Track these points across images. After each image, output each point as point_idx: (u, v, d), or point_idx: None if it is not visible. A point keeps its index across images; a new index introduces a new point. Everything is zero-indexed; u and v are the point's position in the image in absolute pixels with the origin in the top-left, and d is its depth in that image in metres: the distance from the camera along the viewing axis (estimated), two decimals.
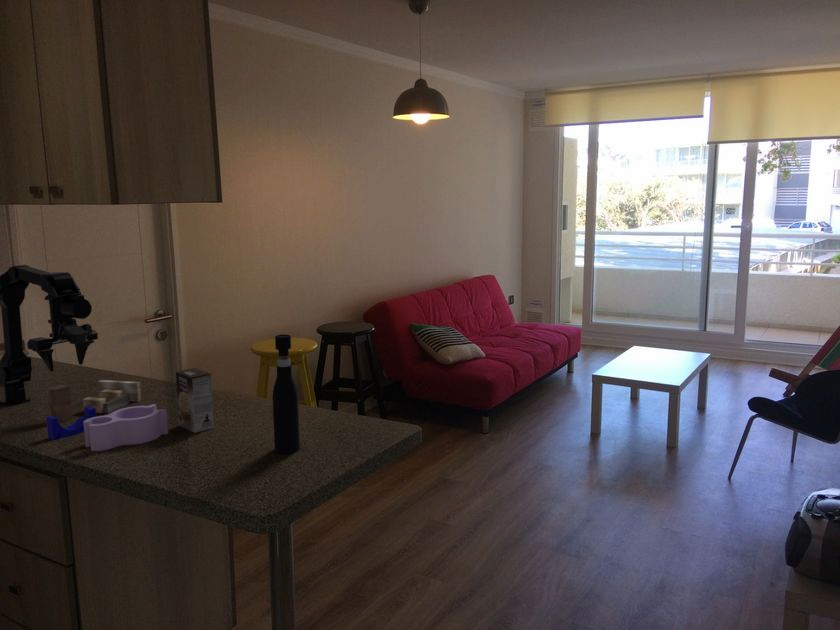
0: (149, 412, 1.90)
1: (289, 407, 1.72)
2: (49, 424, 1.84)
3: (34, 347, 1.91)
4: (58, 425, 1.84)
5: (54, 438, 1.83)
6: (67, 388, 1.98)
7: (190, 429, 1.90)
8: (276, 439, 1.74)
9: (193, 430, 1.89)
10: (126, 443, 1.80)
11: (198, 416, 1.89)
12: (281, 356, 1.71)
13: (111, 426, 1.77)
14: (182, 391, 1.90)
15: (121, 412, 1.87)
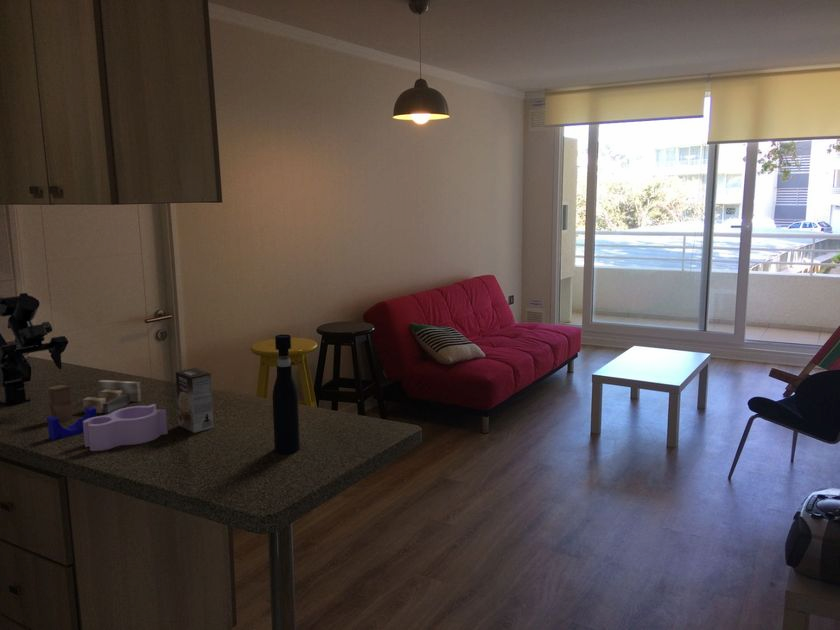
0: (148, 412, 1.89)
1: (289, 407, 1.72)
2: (50, 425, 1.83)
3: (0, 354, 1.96)
4: (59, 426, 1.84)
5: (55, 439, 1.83)
6: (67, 388, 1.98)
7: (190, 429, 1.90)
8: (276, 439, 1.74)
9: (193, 430, 1.89)
10: (125, 443, 1.80)
11: (198, 416, 1.89)
12: (281, 356, 1.71)
13: (110, 426, 1.77)
14: (182, 391, 1.90)
15: (121, 412, 1.87)
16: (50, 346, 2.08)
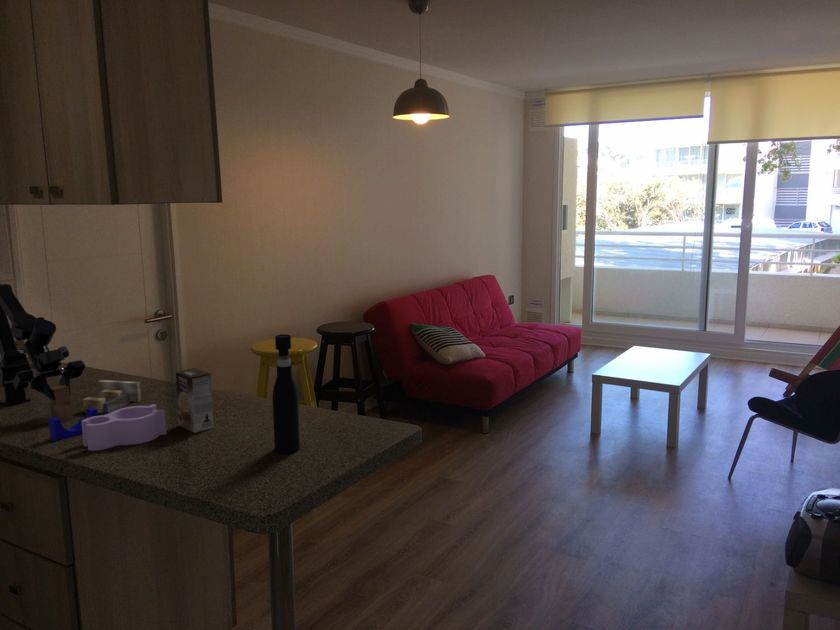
0: (148, 412, 1.89)
1: (289, 407, 1.72)
2: (51, 425, 1.83)
3: (17, 380, 1.92)
4: (60, 426, 1.83)
5: (56, 439, 1.83)
6: (67, 388, 1.98)
7: (190, 429, 1.90)
8: (276, 439, 1.74)
9: (193, 430, 1.89)
10: (123, 443, 1.80)
11: (198, 416, 1.89)
12: (281, 356, 1.71)
13: (108, 426, 1.77)
14: (182, 391, 1.90)
15: (120, 412, 1.87)
16: (59, 372, 2.01)
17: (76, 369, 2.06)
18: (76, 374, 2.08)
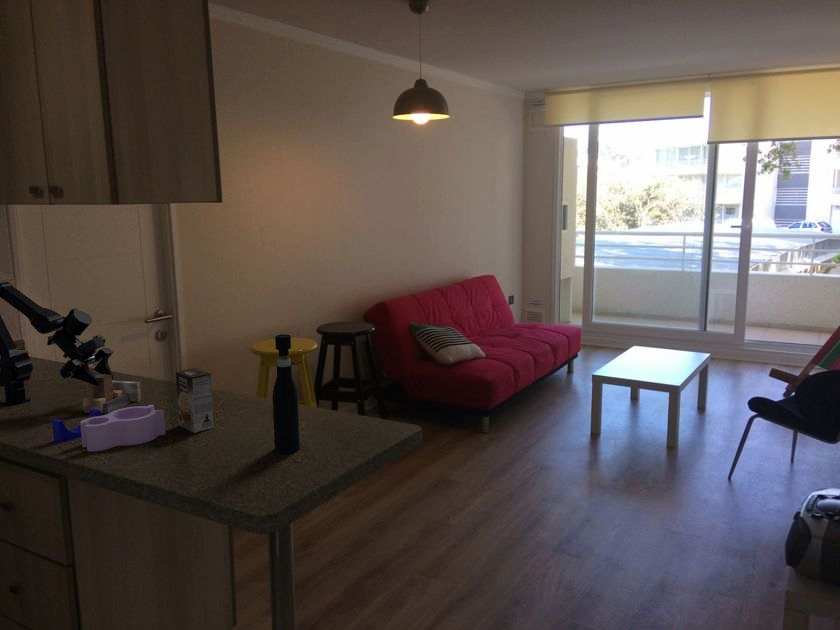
0: (146, 413, 1.89)
1: (289, 407, 1.72)
2: (55, 427, 1.81)
3: (68, 368, 2.01)
4: (64, 428, 1.82)
5: (60, 441, 1.81)
6: (110, 376, 2.11)
7: (190, 429, 1.90)
8: (276, 439, 1.74)
9: (193, 430, 1.89)
10: (123, 444, 1.79)
11: (198, 416, 1.89)
12: (281, 356, 1.71)
13: (107, 427, 1.76)
14: (182, 391, 1.90)
15: (119, 412, 1.86)
16: (96, 359, 2.13)
17: (104, 356, 2.17)
18: None
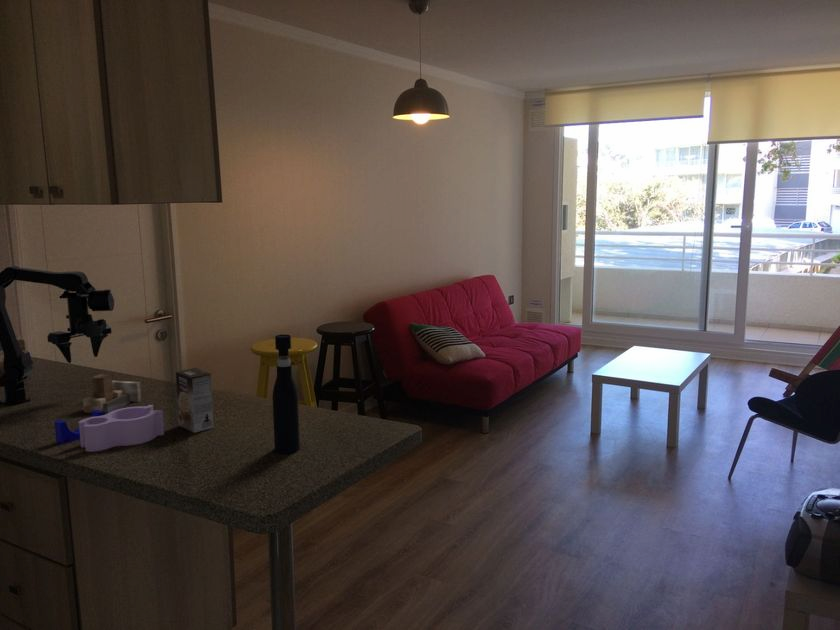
0: (145, 413, 1.89)
1: (289, 407, 1.72)
2: (57, 428, 1.80)
3: (54, 340, 2.08)
4: (67, 429, 1.81)
5: (63, 442, 1.80)
6: (110, 376, 2.11)
7: (190, 429, 1.90)
8: (276, 439, 1.74)
9: (193, 430, 1.89)
10: (121, 444, 1.79)
11: (198, 416, 1.89)
12: (281, 356, 1.71)
13: (106, 427, 1.76)
14: (182, 391, 1.90)
15: (117, 412, 1.86)
16: None
17: None
18: None
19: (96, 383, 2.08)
